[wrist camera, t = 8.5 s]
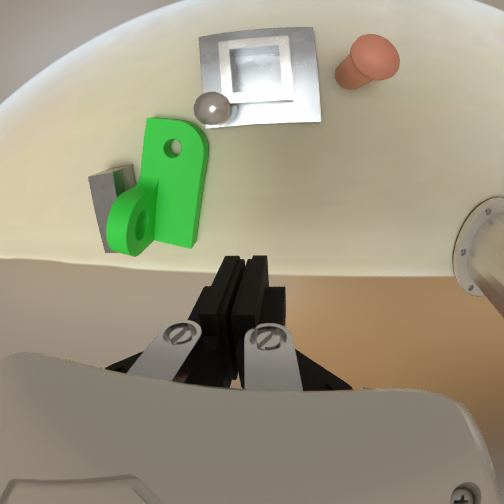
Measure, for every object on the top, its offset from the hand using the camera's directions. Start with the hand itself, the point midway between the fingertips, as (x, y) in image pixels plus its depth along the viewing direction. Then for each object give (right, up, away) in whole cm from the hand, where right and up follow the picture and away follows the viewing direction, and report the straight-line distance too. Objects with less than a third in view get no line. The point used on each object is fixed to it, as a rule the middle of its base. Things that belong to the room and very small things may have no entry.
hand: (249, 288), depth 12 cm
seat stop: (-13, +7, +17) cm, 22 cm away
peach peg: (+9, +17, +9) cm, 21 cm away
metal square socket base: (+1, +17, +10) cm, 20 cm away
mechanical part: (-7, +9, +16) cm, 19 cm away
